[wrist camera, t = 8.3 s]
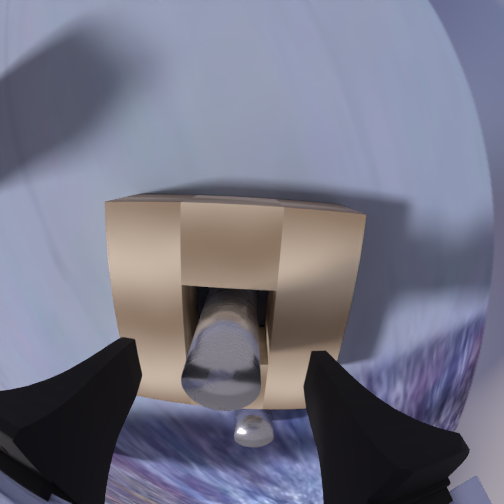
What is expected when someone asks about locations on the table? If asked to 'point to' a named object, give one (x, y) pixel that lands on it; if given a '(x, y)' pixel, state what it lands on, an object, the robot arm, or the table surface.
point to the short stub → (253, 427)
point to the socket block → (232, 281)
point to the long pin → (225, 352)
